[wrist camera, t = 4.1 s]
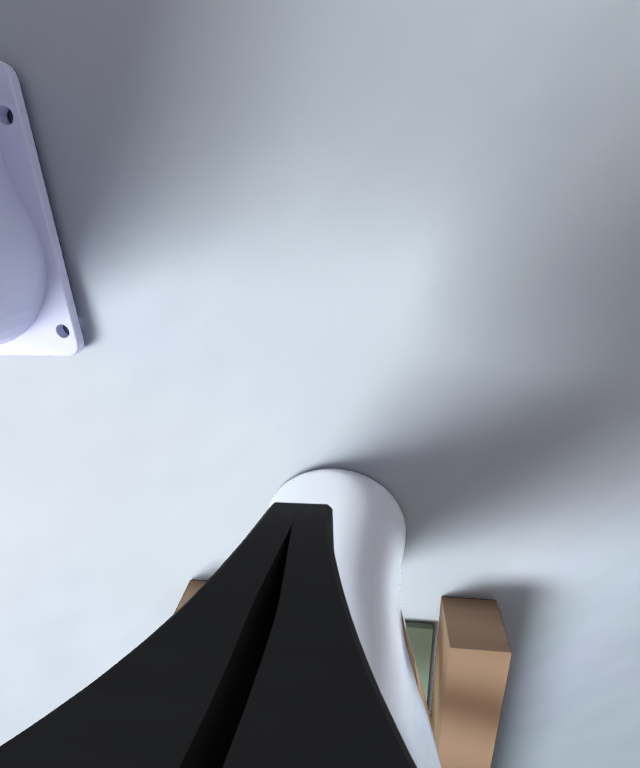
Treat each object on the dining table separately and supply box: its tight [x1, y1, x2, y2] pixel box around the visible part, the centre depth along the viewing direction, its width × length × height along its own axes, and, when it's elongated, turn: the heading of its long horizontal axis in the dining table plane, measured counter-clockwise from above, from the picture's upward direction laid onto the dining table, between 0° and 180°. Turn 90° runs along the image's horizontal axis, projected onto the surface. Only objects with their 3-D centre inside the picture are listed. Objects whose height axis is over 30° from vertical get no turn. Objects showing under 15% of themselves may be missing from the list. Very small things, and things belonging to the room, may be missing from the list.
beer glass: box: [267, 469, 442, 768], centre depth 12 cm, size 7×7×15 cm
